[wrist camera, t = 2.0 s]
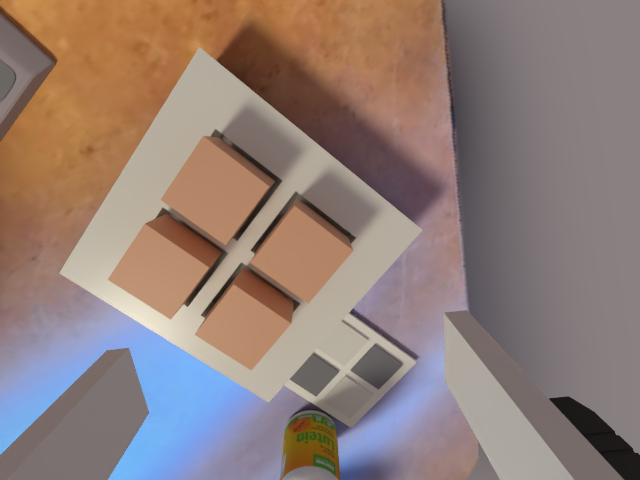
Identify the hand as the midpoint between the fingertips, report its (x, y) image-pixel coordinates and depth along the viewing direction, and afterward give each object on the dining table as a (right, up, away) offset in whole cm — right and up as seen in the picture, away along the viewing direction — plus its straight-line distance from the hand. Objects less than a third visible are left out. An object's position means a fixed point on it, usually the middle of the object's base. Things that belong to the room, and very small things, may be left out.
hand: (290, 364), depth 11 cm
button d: (-10, +3, +14) cm, 18 cm away
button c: (-6, +8, +13) cm, 16 cm away
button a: (0, +4, +14) cm, 15 cm away
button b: (-5, -1, +16) cm, 16 cm away
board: (-5, +4, +17) cm, 19 cm away
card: (+3, -8, +21) cm, 23 cm away
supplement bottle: (0, -16, +23) cm, 28 cm away
